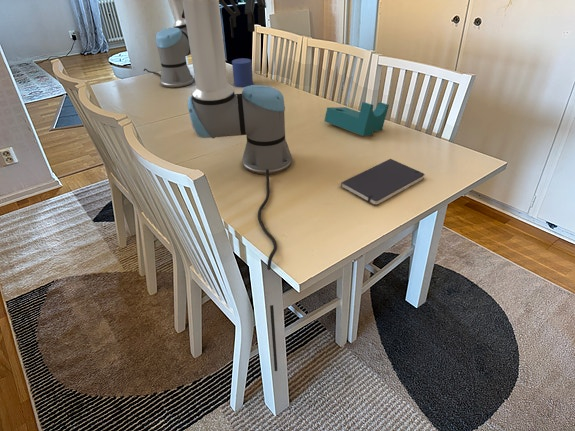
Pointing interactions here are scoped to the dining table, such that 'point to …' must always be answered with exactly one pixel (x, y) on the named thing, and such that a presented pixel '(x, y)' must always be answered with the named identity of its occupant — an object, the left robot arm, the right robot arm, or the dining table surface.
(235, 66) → the canister
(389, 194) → the notebook
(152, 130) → the dining table surface
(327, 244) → the dining table surface
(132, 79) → the dining table surface
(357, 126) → the teal l-shaped bracket
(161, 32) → the left robot arm
